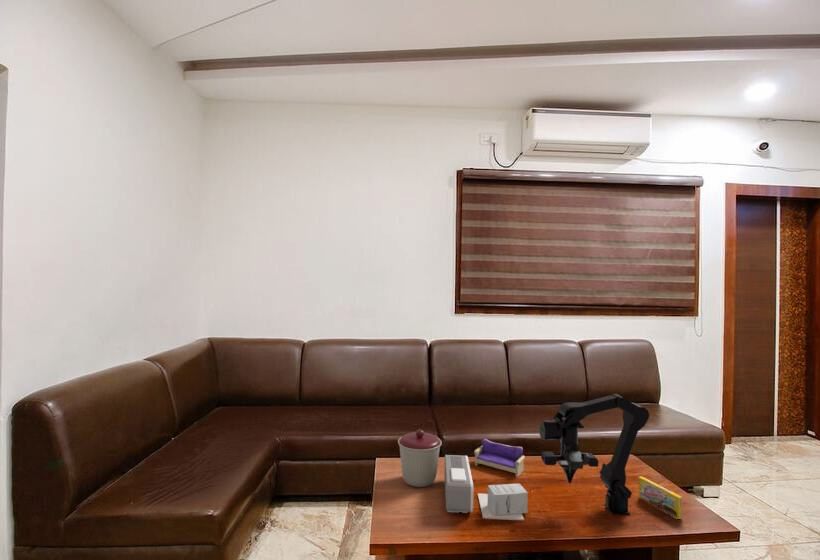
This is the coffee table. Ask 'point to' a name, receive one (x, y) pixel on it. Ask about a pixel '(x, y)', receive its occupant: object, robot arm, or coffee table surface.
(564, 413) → the robot arm
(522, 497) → the supplement box
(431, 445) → the canister
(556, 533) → the coffee table surface
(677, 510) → the candy box
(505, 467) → the toy sofa
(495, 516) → the white flat panel
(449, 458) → the grey boxy piece
